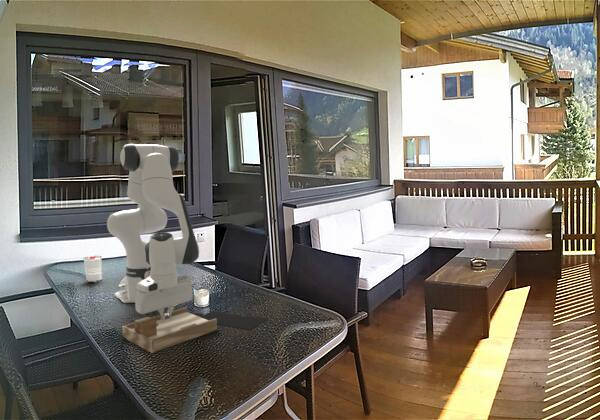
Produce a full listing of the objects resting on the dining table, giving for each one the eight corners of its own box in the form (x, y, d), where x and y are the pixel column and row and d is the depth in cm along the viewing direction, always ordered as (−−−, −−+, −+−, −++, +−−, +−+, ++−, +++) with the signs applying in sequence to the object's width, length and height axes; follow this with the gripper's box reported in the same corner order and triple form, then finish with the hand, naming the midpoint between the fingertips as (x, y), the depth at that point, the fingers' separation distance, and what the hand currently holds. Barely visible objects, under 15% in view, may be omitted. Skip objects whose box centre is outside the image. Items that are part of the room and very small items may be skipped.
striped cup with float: (82, 280, 237) (80, 257, 235) (99, 277, 242) (97, 254, 241) (89, 284, 229) (87, 260, 228) (106, 280, 235) (104, 257, 233)
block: (135, 335, 156) (134, 320, 156) (149, 330, 160) (148, 316, 159) (142, 338, 153) (141, 324, 152) (156, 334, 157) (155, 319, 156)
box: (122, 337, 161) (122, 326, 161) (186, 317, 179) (185, 307, 179) (151, 353, 148) (150, 340, 147) (217, 329, 166) (216, 318, 165)
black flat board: (250, 329, 165) (182, 318, 178) (250, 331, 165) (183, 319, 178) (267, 318, 176) (203, 308, 189) (267, 319, 176) (203, 309, 189)
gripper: (185, 272, 170) (187, 309, 172) (131, 285, 156) (134, 325, 158) (195, 275, 166) (197, 313, 168) (140, 289, 152) (143, 330, 153)
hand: (166, 319), depth 163 cm, fingers closed
